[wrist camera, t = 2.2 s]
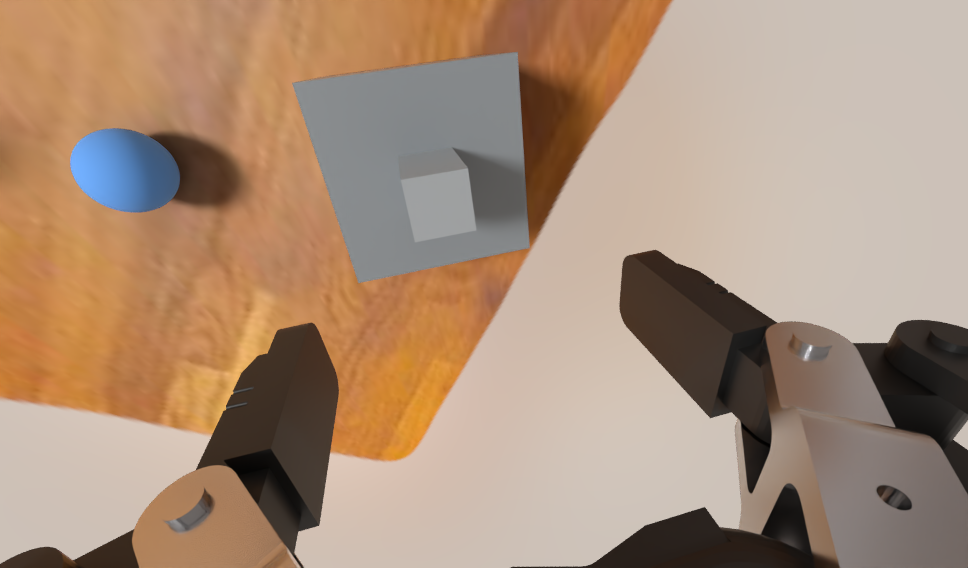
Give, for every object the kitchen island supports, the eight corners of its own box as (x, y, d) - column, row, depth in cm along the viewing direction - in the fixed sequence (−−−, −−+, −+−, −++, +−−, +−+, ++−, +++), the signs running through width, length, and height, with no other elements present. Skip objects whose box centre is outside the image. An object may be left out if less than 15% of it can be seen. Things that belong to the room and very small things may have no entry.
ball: (85, 129, 25) (22, 143, 20) (169, 117, 25) (126, 128, 21) (131, 204, 27) (84, 231, 23) (206, 192, 28) (174, 215, 24)
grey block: (319, 77, 26) (264, 88, 14) (481, 54, 27) (553, 48, 16) (365, 231, 32) (352, 329, 20) (497, 206, 33) (557, 284, 21)
